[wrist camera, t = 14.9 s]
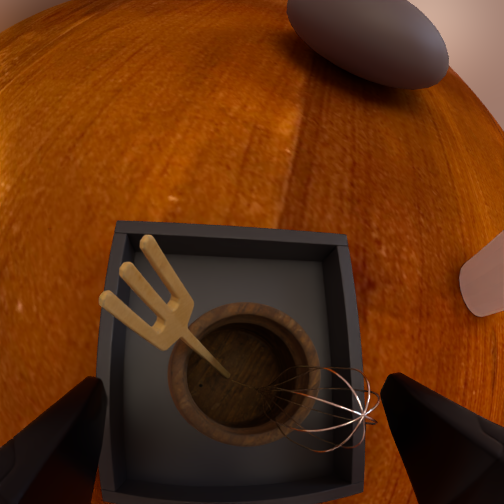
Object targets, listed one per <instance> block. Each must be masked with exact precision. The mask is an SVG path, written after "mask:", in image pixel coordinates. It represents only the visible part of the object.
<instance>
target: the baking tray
mask: <svg viewBox="0 0 504 504" xmlns="http://www.w3.org/2000/svg"><path fill="white" fill-rule="evenodd" d="M144 235H152V236H153V237H154V239H155V240H156V242H157V244H158V245H159V247H160V249H161V250H162V252H163V254H164V255H165V257H166V258H167V260H168V262H169V263H170V265H171V266H172V268H173V270H174V271H175V273H176V274H177V276H178V278H179V279H180V281H181V282H182V284H183V285H184V287H185V288H186V290H187V291H188V293H189V294H190V296H191V298H192V299H193V301H194V307H193V310H192V313H191V316H190V319H189V322H188V327H189V325H190V324H191V323H193V322H194V321H195V320H196V319H197V318H199V317H200V316H202V315H203V314H205V313H206V312H208V311H210V310H212V309H214V308H217V307H219V306H222V305H226V304H230V303H237V302H253V303H260V304H264V305H268V306H271V307H274V308H276V309H278V310H280V311H282V312H284V313H286V314H287V315H289V316H290V317H291V318H293V319H294V320H295V321H296V322H297V323H298V324H299V325H300V326H301V327H302V328H303V329H304V330H305V331H306V333H307V334H308V335H309V337H310V339H311V340H312V342H313V344H314V346H315V349H316V351H317V354H318V358H319V363H320V367H347V368H355V369H358V370H360V371H361V372H362V373H363V364H362V350H361V339H360V329H359V319H358V311H357V302H356V295H355V287H354V280H353V273H352V267H351V260H350V254H349V248H348V242H347V237H346V235H345V234H334V233H322V232H309V231H296V230H282V229H268V228H254V227H238V226H222V225H204V224H186V223H165V222H143V221H117V223H116V227H115V231H114V237H113V242H112V247H111V252H110V257H109V262H108V268H107V274H106V280H105V287H104V291H107V290H110V291H111V292H112V293H114V294H115V295H116V296H117V297H118V298H119V299H120V300H121V301H122V302H123V303H124V304H126V305H127V306H128V307H129V308H130V309H131V310H132V311H133V312H135V313H136V314H137V315H138V316H139V317H140V318H141V319H143V320H144V321H145V322H146V323H147V324H148V325H150V326H151V327H152V326H153V325H154V324H155V322H156V320H157V315H156V314H155V313H154V312H153V311H152V310H151V309H150V308H149V307H148V306H147V305H146V304H145V303H144V302H143V301H142V300H141V299H140V298H139V297H138V295H137V294H136V293H135V292H134V291H133V290H132V289H131V288H130V287H129V286H128V285H127V283H126V282H125V281H124V280H123V279H122V278H121V277H120V275H119V268H120V267H121V265H122V264H123V263H124V262H131V263H133V265H134V266H135V267H136V268H137V270H138V271H139V272H140V273H141V275H142V276H143V277H144V278H145V279H146V281H147V282H148V283H149V284H150V285H151V287H152V288H153V289H154V290H155V291H156V293H157V294H158V295H159V296H160V297H161V298H162V300H163V301H164V302H165V303H166V304H167V303H168V302H169V300H170V298H171V293H170V292H169V291H168V289H167V288H166V286H165V285H164V283H163V282H162V280H161V279H160V277H159V276H158V274H157V273H156V272H155V270H154V269H153V267H152V266H151V264H150V263H149V261H148V259H147V258H146V256H145V255H144V253H143V252H142V250H141V249H140V240H141V239H142V237H143V236H144ZM176 342H177V341H176ZM176 342H174V343H173V344H172V345H171V346H170V347H169V348H168V349H167V350H165V351H161V350H160V349H158V348H157V347H155V346H154V345H152V344H151V343H149V342H148V341H146V340H145V339H144V338H142V337H141V336H139V335H138V334H137V333H135V332H134V331H133V330H131V329H130V328H129V327H127V326H126V325H125V324H123V323H122V322H121V321H119V320H118V319H117V318H115V317H114V316H113V315H112V314H110V313H109V312H108V311H107V310H105V309H104V308H103V307H102V309H101V317H100V327H99V337H98V350H97V367H96V377H98V378H101V379H102V381H103V384H104V387H105V390H106V394H107V397H108V405H107V412H106V419H105V427H104V436H103V444H102V449H101V454H100V458H99V463H98V465H99V474H100V483H101V488H102V489H101V491H102V498H103V501H106V502H111V503H115V504H317V503H322V502H327V501H331V500H335V499H339V498H343V497H347V496H351V495H354V494H358V493H361V492H363V486H364V467H365V436H364V439H363V441H362V442H361V443H360V444H359V445H358V446H356V447H354V448H343V447H338V448H336V449H334V450H331V451H328V452H321V453H319V452H314V451H310V450H308V449H306V448H303V447H301V446H299V445H297V444H295V443H293V442H291V441H290V440H288V439H287V438H286V437H285V436H284V437H283V438H281V439H279V440H276V441H274V442H271V443H268V444H265V445H260V446H252V447H240V446H232V445H228V444H224V443H221V442H218V441H215V440H213V439H211V438H209V437H207V436H205V435H204V434H202V433H201V432H199V431H198V430H196V429H195V428H194V427H192V426H191V425H190V424H189V423H188V422H187V421H186V420H185V419H184V418H183V416H182V415H181V414H180V412H179V411H178V410H177V408H176V406H175V404H174V402H173V400H172V397H171V394H170V391H169V386H168V364H169V359H170V355H171V352H172V350H173V348H174V345H175V344H176ZM328 369H331V370H333V371H335V372H336V373H338V374H339V375H340V376H342V377H343V378H344V379H345V380H346V381H347V382H348V383H349V384H350V386H351V387H352V388H353V389H358V390H364V379H363V375H362V374H361V373H359V372H358V371H355V370H350V369H336V368H328ZM320 372H321V379H320V387H319V388H349V387H348V385H347V384H346V383H345V382H344V381H343V380H342V379H341V378H340V377H338V376H337V375H336V374H334V373H333V372H331V371H328V370H325V369H320ZM349 389H350V388H349ZM355 393H356V395H357V396H358V399H359V401H360V403H361V406H362V409H363V412H364V410H365V402H364V392H361V391H355ZM317 398H319V399H322V400H325V401H328V402H331V403H334V404H337V405H340V406H343V407H345V408H348V409H351V410H353V411H356V412H358V413H361V410H360V407H359V404H358V402H357V399H356V397H355V396H354V394H353V392H352V391H351V390H343V389H319V392H318V396H317ZM312 409H315V410H318V411H322V412H325V413H328V414H332V415H336V416H340V417H344V418H348V419H353V420H354V419H356V418H358V417H360V415H358V414H355V413H352V412H350V411H347V410H345V409H342V408H339V407H336V406H333V405H331V404H328V403H325V402H322V401H319V400H316V401H315V403H314V406H313V408H312ZM361 414H362V413H361ZM360 419H361V418H360ZM360 419H358V421H360ZM362 421H363V419H362ZM347 422H350V420H346V419H342V418H338V417H334V416H330V415H327V414H323V413H320V412H317V411H314V410H311V411H310V413H309V414H308V416H307V417H306V418H305V420H304V421H303V422H302V423H301V424H300V426H302V427H303V428H304V429H305V430H318V429H326V428H331V427H335V426H338V425H342V424H344V423H347ZM358 423H359V422H355V421H354V422H352V423H350V424H347V425H345V426H342V427H339V428H335V429H331V430H326V431H317V432H310V433H311V434H313V435H315V436H317V437H319V438H321V439H323V440H326V441H329V442H332V443H335V444H338V445H339V444H341V443H342V442H343V441H344V440H346V439H347V438H348V437H349V436H350V435H351V433H352V432H353V431H354V429H355V428H356V426H357V425H358ZM296 429H301V430H303V429H302V428H301V427H299V426H298V427H297V428H296ZM363 431H364V425H363V423H360V425H359V427H358V428H357V430H356V431H355V433H354V434H353V435H352V436H351V437H350V438H349V439H348V440H347V441H346V442H345V443H344V444H342V445H341V446H346V447H351V446H355V445H357V444H358V443H359V442H360V441H361V439H362V436H363ZM286 436H287V437H288V438H290V439H291V440H292V441H294V442H296V443H298V444H300V445H303V446H305V447H308V448H310V449H313V450H317V451H324V450H328V449H331V448H334V447H336V445H333V444H330V443H327V442H324V441H322V440H319V439H317V438H315V437H313V436H312V435H310V434H308V433H307V432H302V431H296V430H293V431H292V432H291V433H289V434H288V435H286Z"/></svg>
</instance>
